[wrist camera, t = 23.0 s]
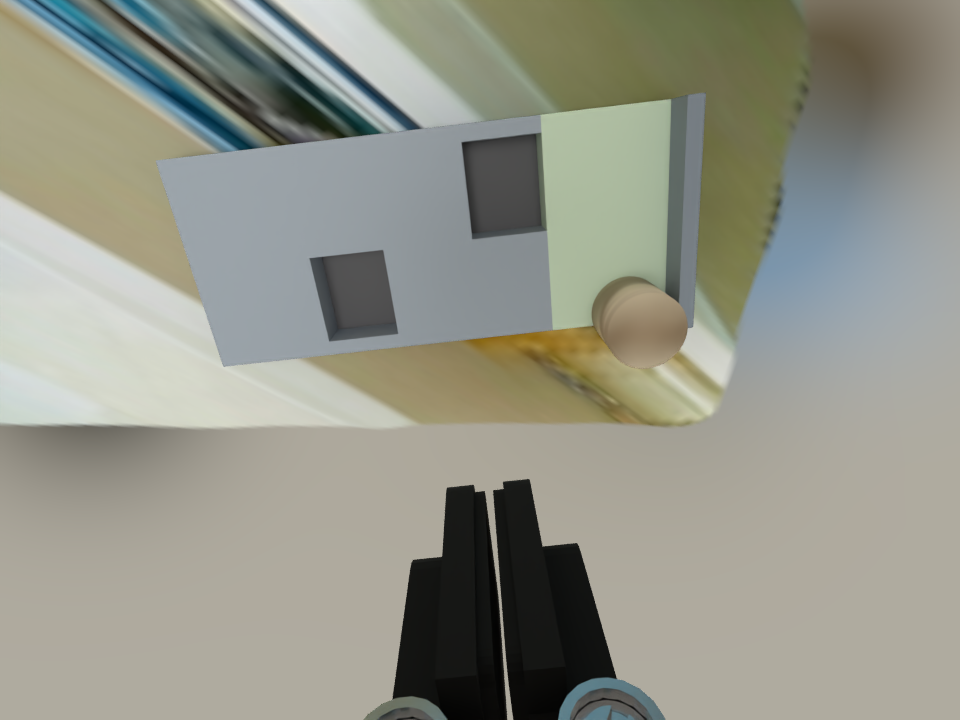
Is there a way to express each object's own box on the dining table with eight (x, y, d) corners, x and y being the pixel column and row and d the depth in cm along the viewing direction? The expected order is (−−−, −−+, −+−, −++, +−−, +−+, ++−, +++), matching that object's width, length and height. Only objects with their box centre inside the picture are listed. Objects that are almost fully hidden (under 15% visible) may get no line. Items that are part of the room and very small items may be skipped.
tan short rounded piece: (593, 277, 35) (610, 294, 31) (665, 275, 35) (692, 291, 31) (589, 345, 37) (605, 369, 33) (658, 342, 37) (682, 367, 33)
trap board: (180, 160, 34) (130, 161, 29) (669, 101, 34) (705, 92, 28) (240, 351, 39) (207, 381, 34) (663, 304, 39) (693, 327, 34)
